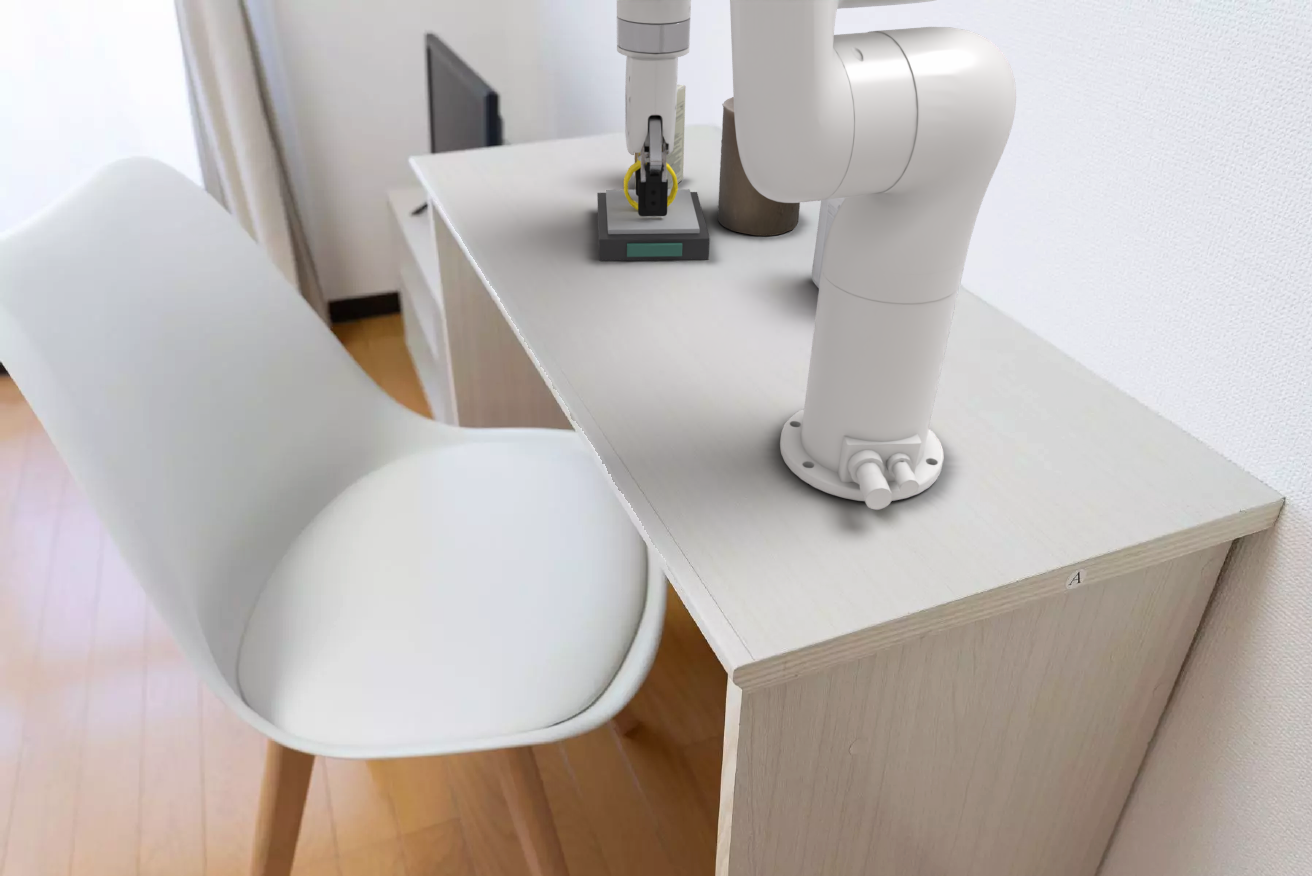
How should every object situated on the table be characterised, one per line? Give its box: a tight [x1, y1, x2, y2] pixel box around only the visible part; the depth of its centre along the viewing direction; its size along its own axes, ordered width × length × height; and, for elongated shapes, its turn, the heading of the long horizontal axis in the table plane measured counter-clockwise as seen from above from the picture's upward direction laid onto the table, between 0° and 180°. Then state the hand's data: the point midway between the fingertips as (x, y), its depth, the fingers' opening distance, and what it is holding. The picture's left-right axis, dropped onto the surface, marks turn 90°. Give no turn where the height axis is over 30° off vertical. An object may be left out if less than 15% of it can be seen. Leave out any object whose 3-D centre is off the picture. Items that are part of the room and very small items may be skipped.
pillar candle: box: [717, 96, 801, 237], centre depth 111 cm, size 10×10×15 cm
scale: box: [596, 188, 711, 262], centre depth 110 cm, size 14×12×3 cm
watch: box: [623, 156, 679, 210], centre depth 108 cm, size 6×3×6 cm, turn 98°
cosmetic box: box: [634, 83, 687, 190], centre depth 121 cm, size 6×4×12 cm
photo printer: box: [811, 197, 846, 289], centre depth 95 cm, size 10×4×12 cm, turn 17°
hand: (650, 203), depth 109 cm, fingers open, 5 cm apart
